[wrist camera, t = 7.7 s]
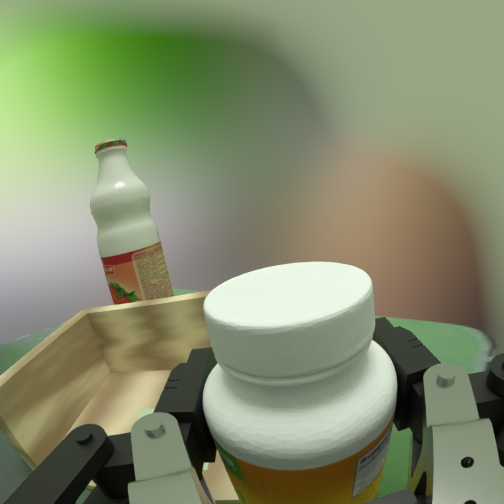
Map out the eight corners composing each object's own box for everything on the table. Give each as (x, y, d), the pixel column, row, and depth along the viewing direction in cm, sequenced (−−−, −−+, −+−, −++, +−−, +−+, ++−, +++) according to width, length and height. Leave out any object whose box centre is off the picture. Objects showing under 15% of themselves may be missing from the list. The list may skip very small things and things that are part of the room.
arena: (33, 471, 13) (-21, 394, 12) (107, 369, 31) (83, 309, 29) (247, 503, 12) (208, 416, 11) (251, 357, 30) (235, 286, 28)
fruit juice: (185, 325, 41) (142, 128, 36) (124, 343, 38) (75, 143, 32) (174, 307, 50) (138, 144, 44) (123, 322, 46) (84, 157, 41)
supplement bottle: (219, 510, 9) (130, 309, 7) (296, 440, 13) (269, 252, 11) (327, 569, 5) (334, 382, 3) (395, 473, 9) (424, 256, 7)
